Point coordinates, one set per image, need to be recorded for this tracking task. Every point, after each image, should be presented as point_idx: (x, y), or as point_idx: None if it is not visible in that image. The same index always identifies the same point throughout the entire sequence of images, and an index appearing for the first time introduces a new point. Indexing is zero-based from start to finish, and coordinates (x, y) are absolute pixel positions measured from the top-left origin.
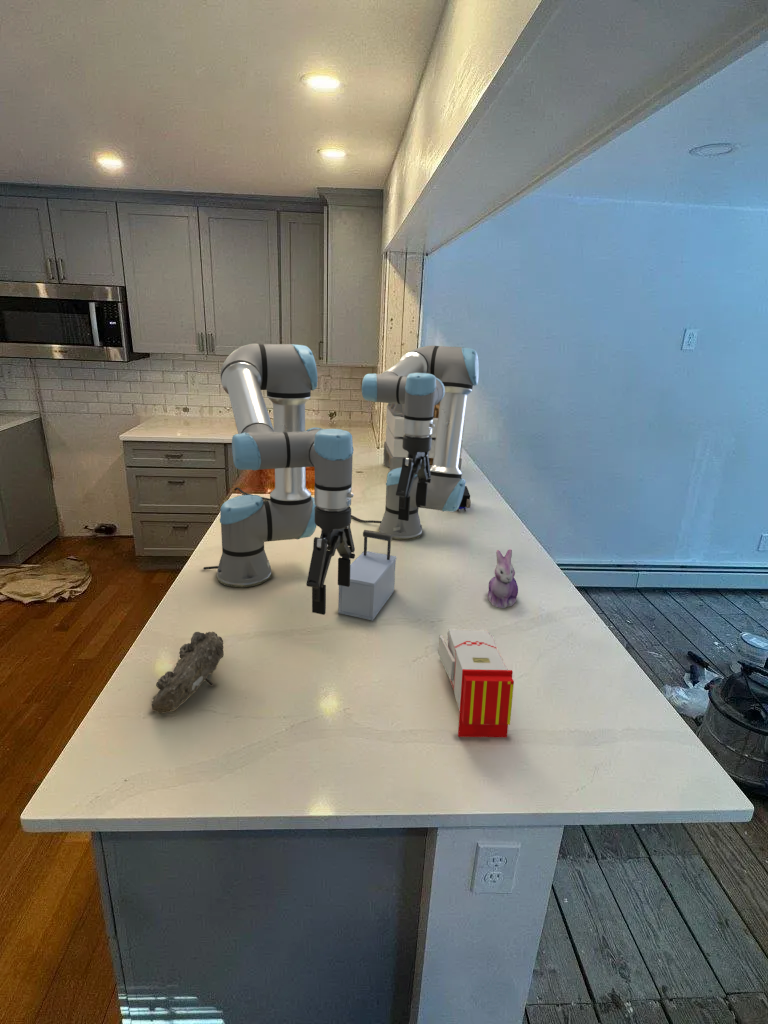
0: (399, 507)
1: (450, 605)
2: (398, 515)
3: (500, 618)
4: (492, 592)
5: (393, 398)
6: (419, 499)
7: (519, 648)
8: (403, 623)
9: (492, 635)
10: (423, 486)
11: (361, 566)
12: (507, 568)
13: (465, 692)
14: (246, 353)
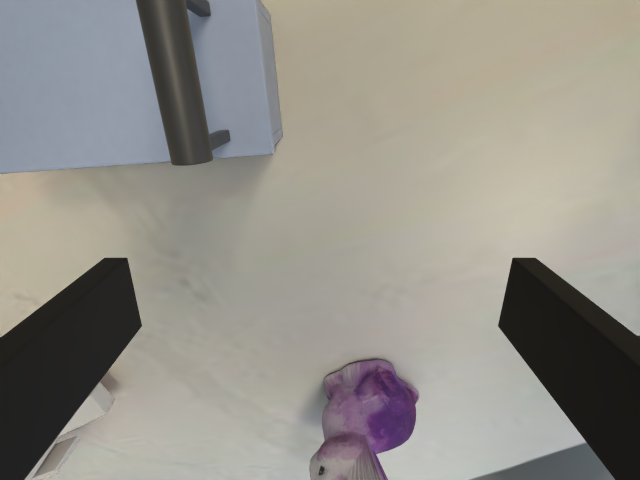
0: (37, 318)
1: (283, 297)
2: (87, 272)
3: (283, 396)
4: (332, 396)
5: None
6: (533, 309)
7: (192, 438)
8: (134, 226)
9: (55, 472)
10: (627, 449)
11: (86, 54)
12: None
13: None
14: None
